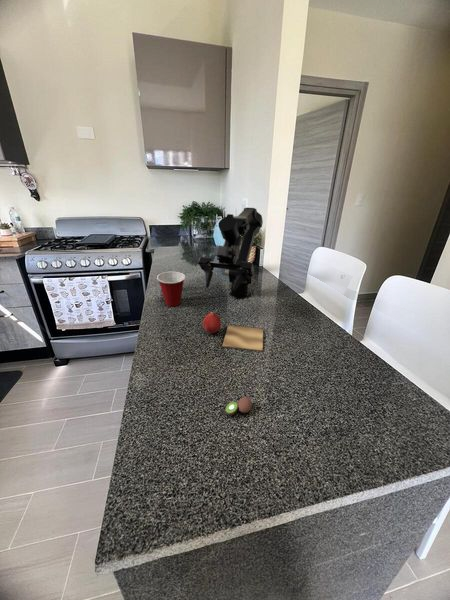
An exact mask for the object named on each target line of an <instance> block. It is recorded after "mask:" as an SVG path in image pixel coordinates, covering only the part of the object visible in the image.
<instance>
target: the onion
mask: <svg viewBox="0 0 450 600" xmlns="http://www.w3.org/2000/svg"><path fill="white" fill-rule="evenodd" d="M202 326H203V329H204V330H205V331H206V332H207V333H208V334H210V335H211V334H212V335H213V334H214V333H217V332H218V331H219V330H220V329H221V326H222V323H221V318H220V316H219V315H217V314H216V313H215V312H214V311H211V312H210V313H208V314H207V315H205V317H204V318H203V320H202Z"/></svg>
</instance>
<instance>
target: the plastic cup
mask: <svg viewBox="0 0 450 600" xmlns="http://www.w3.org/2000/svg"><path fill="white" fill-rule="evenodd" d="M185 280H186V275H185V274H184V273H182V272H180V271H164V272H161V273H159V274H157V276H156V281H158V283H159V286H160V290H161V293H162V296H163V299H164V303H165V305H166V306H167V307H171V308H172V307H179V306H180V305H181V302H182V296H183V295H182V294H183V288H184V282H185Z"/></svg>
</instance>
